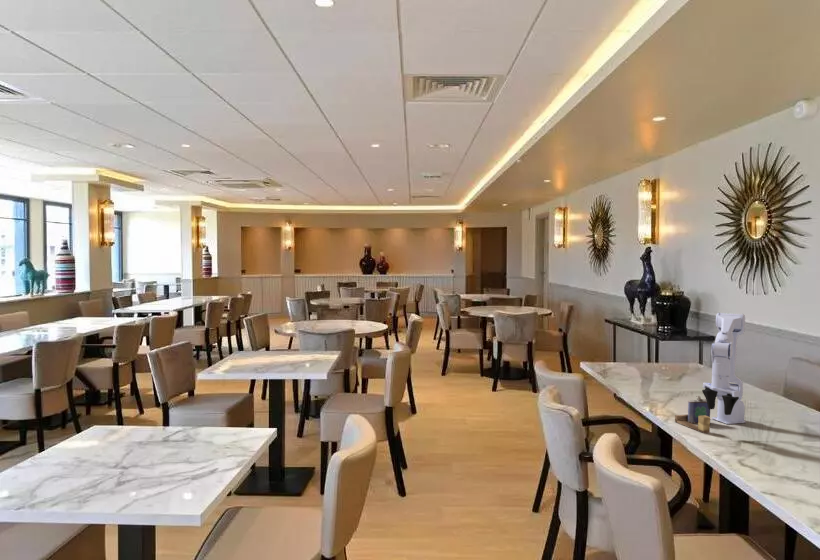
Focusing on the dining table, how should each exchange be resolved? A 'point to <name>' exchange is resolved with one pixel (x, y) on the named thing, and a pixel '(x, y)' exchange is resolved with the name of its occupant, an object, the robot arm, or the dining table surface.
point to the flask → (697, 409)
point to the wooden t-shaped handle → (702, 424)
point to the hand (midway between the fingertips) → (719, 411)
